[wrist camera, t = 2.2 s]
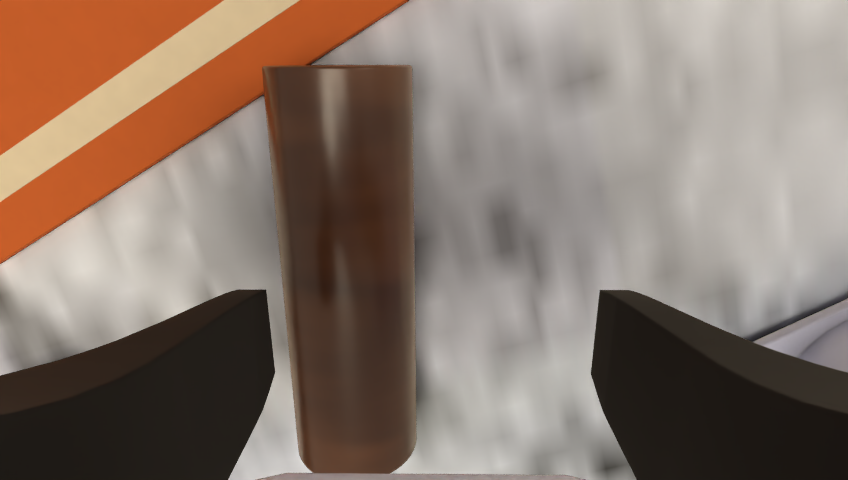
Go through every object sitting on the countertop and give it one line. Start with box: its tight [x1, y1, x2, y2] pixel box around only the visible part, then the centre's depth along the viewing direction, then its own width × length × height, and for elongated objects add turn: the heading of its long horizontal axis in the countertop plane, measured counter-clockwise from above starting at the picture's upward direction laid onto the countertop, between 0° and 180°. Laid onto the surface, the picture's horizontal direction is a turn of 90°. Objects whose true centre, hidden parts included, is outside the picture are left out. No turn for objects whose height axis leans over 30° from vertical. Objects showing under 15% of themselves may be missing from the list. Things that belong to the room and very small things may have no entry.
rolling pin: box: [262, 65, 417, 474], centre depth 15 cm, size 11×4×4 cm
